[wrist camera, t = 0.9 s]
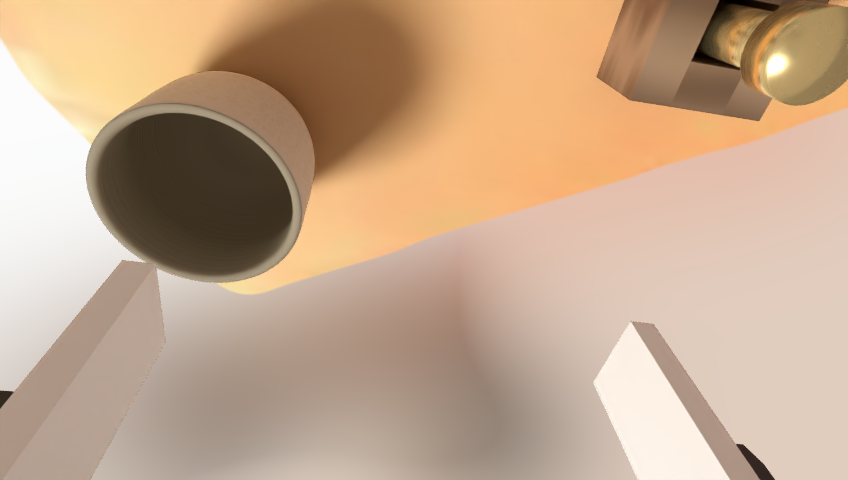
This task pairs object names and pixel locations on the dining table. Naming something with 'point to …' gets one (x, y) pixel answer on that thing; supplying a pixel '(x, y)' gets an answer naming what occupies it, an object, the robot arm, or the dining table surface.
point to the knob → (782, 48)
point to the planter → (205, 177)
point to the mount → (678, 58)
